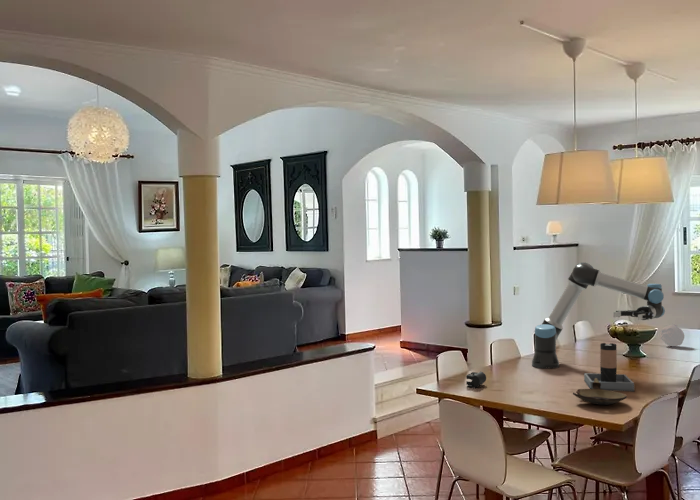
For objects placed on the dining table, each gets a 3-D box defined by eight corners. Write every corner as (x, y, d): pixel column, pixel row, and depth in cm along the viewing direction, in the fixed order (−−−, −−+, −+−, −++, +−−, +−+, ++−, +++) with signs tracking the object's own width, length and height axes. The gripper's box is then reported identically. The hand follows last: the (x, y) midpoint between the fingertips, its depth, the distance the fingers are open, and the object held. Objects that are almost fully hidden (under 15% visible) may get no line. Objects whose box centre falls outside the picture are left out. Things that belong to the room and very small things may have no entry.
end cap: (479, 389, 319) (479, 375, 318) (466, 387, 322) (465, 374, 322) (486, 385, 327) (486, 372, 327) (473, 383, 331) (473, 370, 331)
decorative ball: (656, 346, 430) (656, 324, 430) (664, 344, 439) (664, 322, 439) (680, 349, 419) (680, 326, 419) (687, 346, 428) (687, 324, 428)
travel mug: (609, 386, 316) (609, 346, 316) (596, 383, 323) (596, 343, 322) (620, 384, 320) (620, 344, 319) (607, 381, 327) (607, 342, 326)
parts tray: (590, 389, 314) (590, 381, 314) (584, 380, 333) (584, 373, 333) (634, 391, 310) (634, 383, 310) (625, 382, 329) (625, 374, 329)
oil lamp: (566, 406, 286) (565, 388, 285) (586, 392, 310) (586, 376, 309) (618, 413, 272) (618, 395, 272) (635, 398, 296) (635, 382, 296)
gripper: (668, 321, 346) (649, 325, 332) (624, 317, 365) (604, 320, 352) (668, 308, 345) (649, 311, 332) (624, 304, 365) (604, 307, 352)
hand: (626, 316), depth 342 cm, fingers open, 13 cm apart
